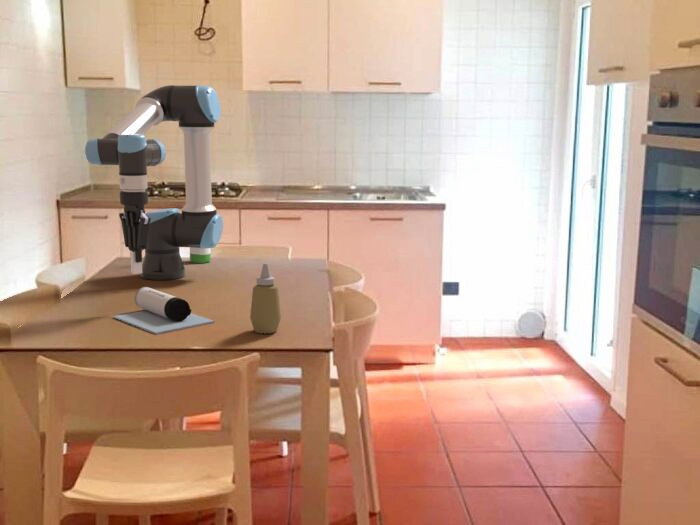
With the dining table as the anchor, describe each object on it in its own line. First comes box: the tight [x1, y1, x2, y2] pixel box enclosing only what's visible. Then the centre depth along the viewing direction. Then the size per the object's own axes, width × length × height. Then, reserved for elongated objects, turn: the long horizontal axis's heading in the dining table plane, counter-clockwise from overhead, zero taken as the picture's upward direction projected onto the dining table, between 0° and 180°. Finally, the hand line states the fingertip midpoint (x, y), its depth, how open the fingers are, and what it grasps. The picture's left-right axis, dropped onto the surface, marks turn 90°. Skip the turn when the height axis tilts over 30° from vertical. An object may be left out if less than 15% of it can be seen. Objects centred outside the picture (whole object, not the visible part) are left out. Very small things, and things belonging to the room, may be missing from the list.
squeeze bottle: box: [249, 263, 282, 335], centre depth 206 cm, size 8×8×18 cm
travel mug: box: [134, 286, 192, 322], centre depth 220 cm, size 6×7×20 cm
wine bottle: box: [189, 247, 212, 264], centre depth 300 cm, size 8×8×30 cm
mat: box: [113, 310, 215, 335], centre depth 217 cm, size 22×18×1 cm
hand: (136, 273), depth 225 cm, fingers closed
